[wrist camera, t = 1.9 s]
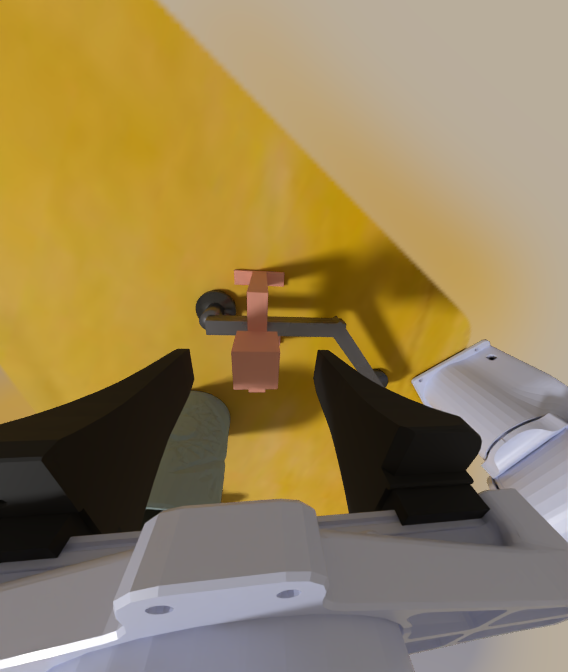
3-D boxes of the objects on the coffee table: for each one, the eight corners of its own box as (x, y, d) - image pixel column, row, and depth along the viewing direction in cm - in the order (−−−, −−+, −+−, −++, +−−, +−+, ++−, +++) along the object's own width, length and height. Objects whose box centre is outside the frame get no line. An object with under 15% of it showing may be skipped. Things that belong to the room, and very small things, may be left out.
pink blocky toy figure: (284, 272, 19) (302, 307, 10) (279, 343, 22) (290, 419, 13) (234, 269, 18) (207, 304, 9) (237, 342, 21) (219, 420, 13)
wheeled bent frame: (289, 222, 17) (297, 218, 13) (389, 382, 26) (412, 408, 22) (189, 305, 19) (170, 324, 15) (312, 425, 28) (321, 457, 24)
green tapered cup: (190, 452, 28) (146, 584, 18) (130, 408, 24) (24, 548, 13) (251, 421, 27) (244, 546, 16) (199, 368, 22) (140, 491, 12)
